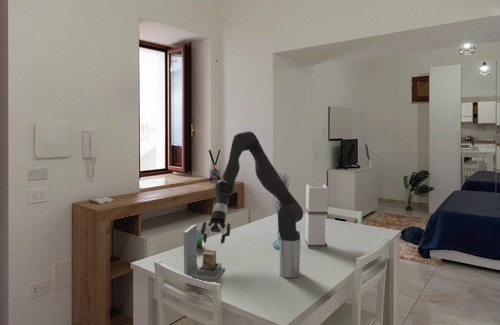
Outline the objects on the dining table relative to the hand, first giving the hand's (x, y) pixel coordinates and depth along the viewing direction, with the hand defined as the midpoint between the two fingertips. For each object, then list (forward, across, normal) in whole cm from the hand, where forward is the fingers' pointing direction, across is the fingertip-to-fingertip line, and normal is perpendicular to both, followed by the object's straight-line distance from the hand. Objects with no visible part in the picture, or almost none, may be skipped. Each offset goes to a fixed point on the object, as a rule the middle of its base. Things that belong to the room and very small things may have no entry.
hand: (213, 242), depth 171 cm
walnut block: (+13, 0, +4) cm, 13 cm away
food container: (-9, -19, +27) cm, 34 cm away
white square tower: (-22, +49, +41) cm, 68 cm away
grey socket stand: (+14, -2, +5) cm, 14 cm away
